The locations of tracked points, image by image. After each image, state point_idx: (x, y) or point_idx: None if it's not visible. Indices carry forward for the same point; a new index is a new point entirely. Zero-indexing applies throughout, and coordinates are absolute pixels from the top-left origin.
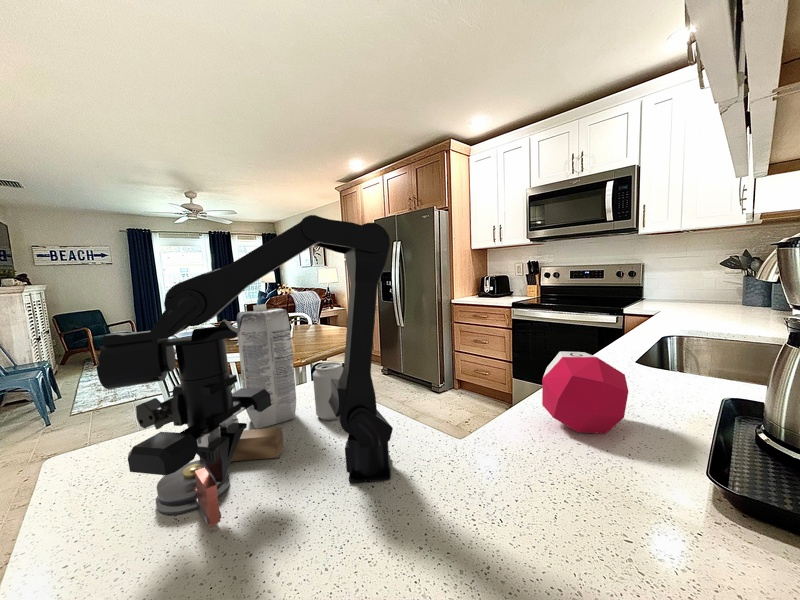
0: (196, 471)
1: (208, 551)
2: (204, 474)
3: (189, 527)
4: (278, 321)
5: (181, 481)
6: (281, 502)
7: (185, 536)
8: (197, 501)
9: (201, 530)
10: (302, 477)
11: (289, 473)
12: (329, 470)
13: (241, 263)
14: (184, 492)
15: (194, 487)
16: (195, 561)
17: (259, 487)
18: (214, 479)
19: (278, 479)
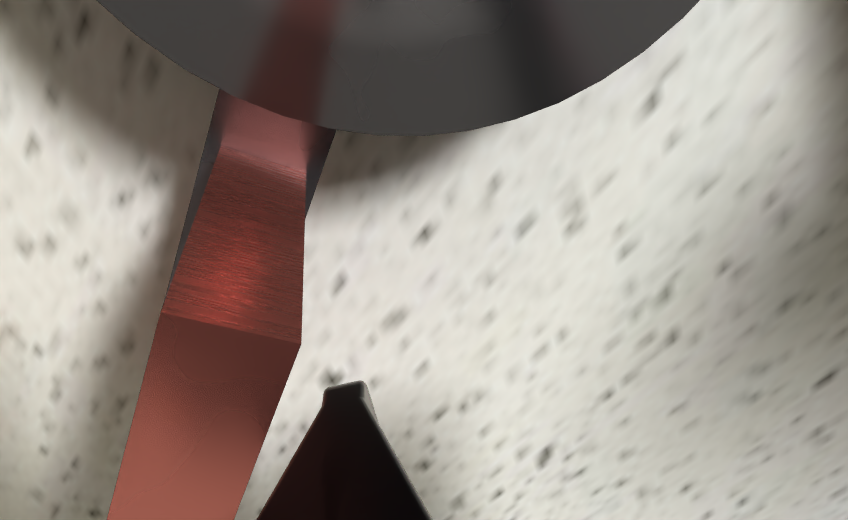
0: (169, 349)
1: (88, 466)
2: (196, 488)
3: (104, 197)
4: None
5: None
6: (517, 479)
7: (46, 257)
8: (195, 185)
9: (143, 299)
10: (743, 421)
11: (782, 328)
12: (813, 490)
13: None
14: (124, 24)
15: (239, 60)
16: (11, 470)
17: (612, 272)
18: (445, 129)
19: (712, 315)
